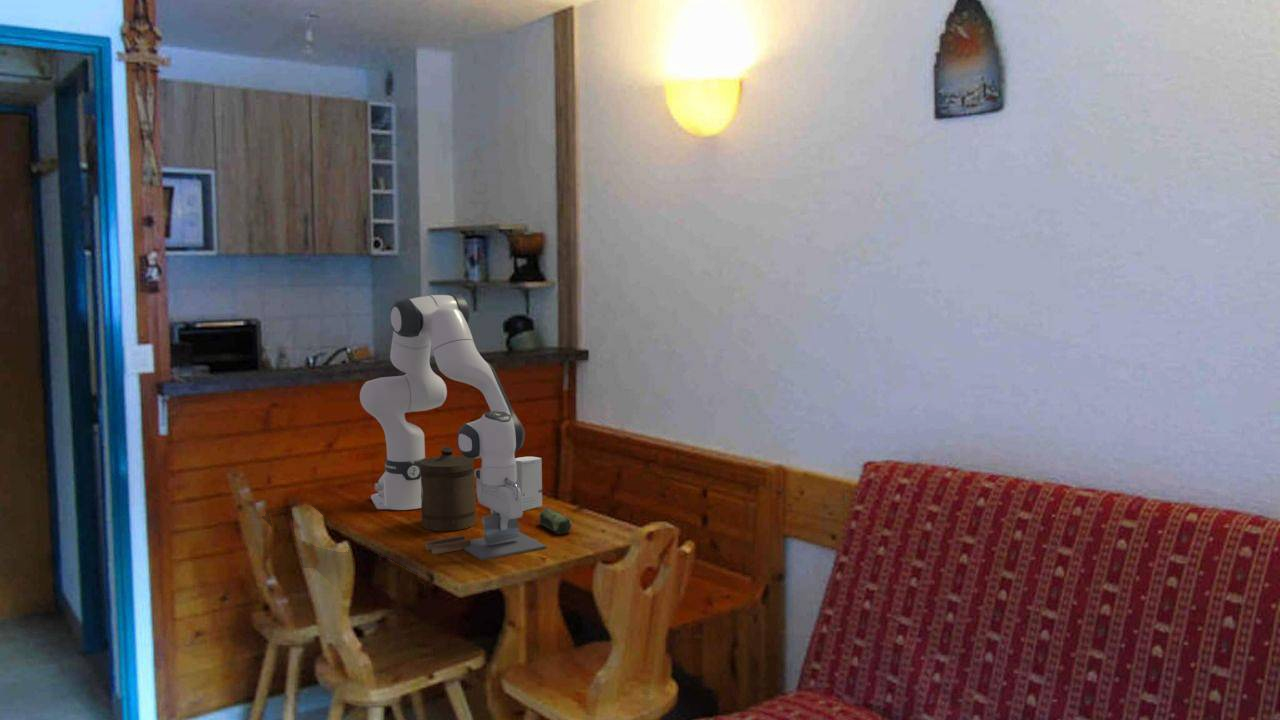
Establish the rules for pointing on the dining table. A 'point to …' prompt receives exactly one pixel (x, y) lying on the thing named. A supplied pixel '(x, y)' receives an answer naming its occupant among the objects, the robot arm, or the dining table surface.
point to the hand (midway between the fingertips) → (500, 527)
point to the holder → (447, 544)
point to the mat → (503, 547)
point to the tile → (494, 533)
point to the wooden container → (448, 492)
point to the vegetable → (555, 521)
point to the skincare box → (529, 481)
